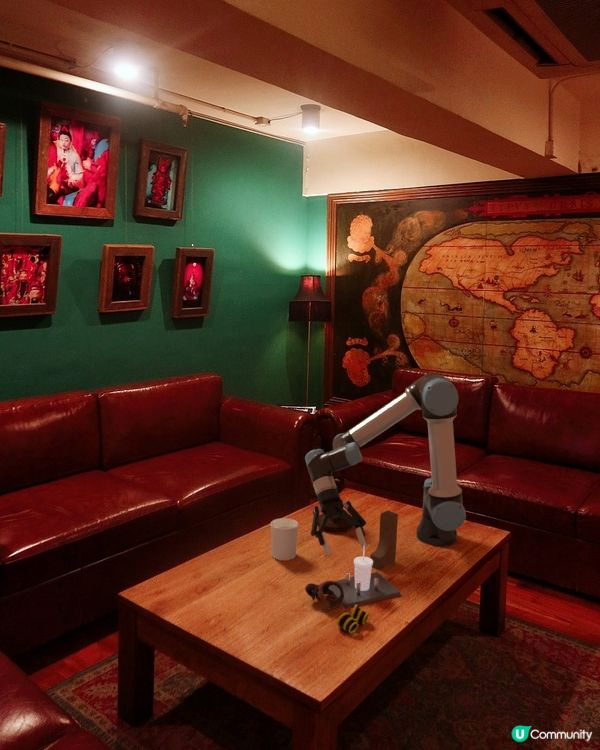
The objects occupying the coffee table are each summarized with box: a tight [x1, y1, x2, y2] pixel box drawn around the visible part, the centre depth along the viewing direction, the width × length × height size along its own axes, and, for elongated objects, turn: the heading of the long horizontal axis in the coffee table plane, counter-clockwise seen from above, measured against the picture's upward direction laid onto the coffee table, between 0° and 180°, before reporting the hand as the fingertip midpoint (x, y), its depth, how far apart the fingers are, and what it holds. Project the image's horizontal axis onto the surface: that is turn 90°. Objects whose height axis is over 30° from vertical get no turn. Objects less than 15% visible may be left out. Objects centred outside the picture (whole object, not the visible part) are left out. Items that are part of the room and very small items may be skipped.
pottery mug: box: [304, 580, 344, 612], centre depth 199 cm, size 12×10×8 cm
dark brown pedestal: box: [318, 474, 354, 532], centre depth 256 cm, size 15×15×20 cm
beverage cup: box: [353, 546, 373, 591], centre depth 207 cm, size 6×6×14 cm
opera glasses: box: [336, 604, 370, 635], centre depth 188 cm, size 10×5×5 cm, turn 142°
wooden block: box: [369, 510, 399, 571], centre depth 225 cm, size 9×4×18 cm, turn 135°
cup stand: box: [329, 571, 402, 609], centre depth 208 cm, size 20×14×5 cm
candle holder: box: [270, 517, 299, 561], centre depth 230 cm, size 10×10×12 cm
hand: (346, 550), depth 216 cm, fingers open, 13 cm apart
